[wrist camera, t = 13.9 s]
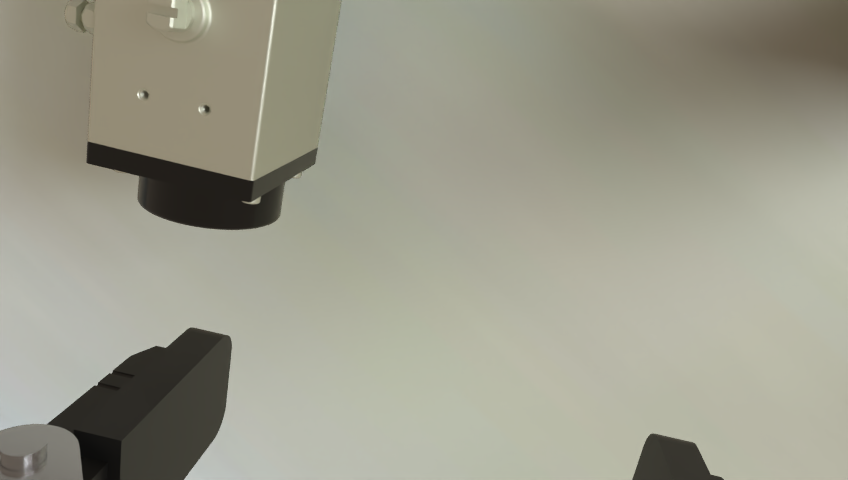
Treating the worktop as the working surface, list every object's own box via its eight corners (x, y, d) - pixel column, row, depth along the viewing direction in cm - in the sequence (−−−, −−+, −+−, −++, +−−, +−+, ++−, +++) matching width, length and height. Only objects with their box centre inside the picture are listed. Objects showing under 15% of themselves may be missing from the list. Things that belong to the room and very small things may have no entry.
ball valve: (249, -152, 37) (36, -318, 20) (391, -122, 37) (293, -267, 20) (215, 149, 43) (24, 215, 26) (338, 179, 42) (226, 266, 25)
